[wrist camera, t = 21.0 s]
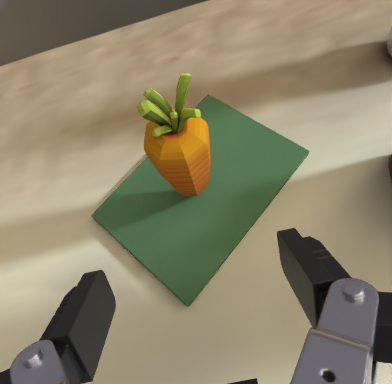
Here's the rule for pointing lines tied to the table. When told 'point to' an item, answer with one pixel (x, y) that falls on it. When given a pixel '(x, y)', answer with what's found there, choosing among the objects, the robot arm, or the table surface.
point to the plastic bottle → (389, 42)
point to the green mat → (201, 202)
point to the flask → (390, 167)
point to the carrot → (177, 140)
